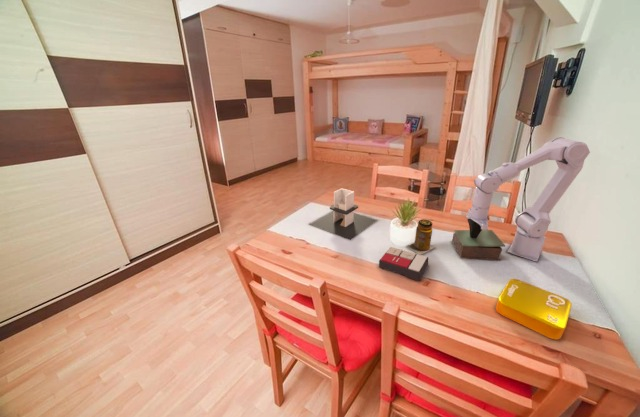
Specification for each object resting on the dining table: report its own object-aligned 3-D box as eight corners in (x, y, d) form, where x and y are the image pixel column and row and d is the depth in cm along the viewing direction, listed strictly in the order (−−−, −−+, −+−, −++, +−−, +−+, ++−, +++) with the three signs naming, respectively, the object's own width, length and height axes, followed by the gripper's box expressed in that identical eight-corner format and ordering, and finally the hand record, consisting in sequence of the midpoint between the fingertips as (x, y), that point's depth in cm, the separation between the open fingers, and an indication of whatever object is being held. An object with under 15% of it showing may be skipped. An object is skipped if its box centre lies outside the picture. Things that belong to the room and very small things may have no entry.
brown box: (486, 244, 110) (489, 233, 108) (498, 260, 100) (502, 248, 97) (451, 242, 112) (453, 231, 110) (460, 258, 102) (462, 246, 100)
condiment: (433, 248, 108) (438, 222, 104) (420, 255, 104) (424, 229, 99) (419, 240, 114) (422, 216, 109) (406, 247, 110) (409, 221, 105)
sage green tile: (491, 231, 107) (492, 230, 107) (505, 246, 97) (505, 245, 97) (454, 231, 110) (454, 230, 110) (462, 246, 100) (463, 245, 99)
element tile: (507, 286, 87) (511, 275, 85) (567, 311, 76) (573, 298, 74) (493, 311, 77) (497, 299, 75) (559, 343, 67) (565, 330, 65)
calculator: (390, 245, 105) (429, 255, 96) (389, 254, 107) (428, 265, 98) (378, 259, 97) (420, 271, 88) (378, 268, 99) (419, 281, 90)
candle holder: (309, 224, 132) (307, 194, 125) (338, 208, 148) (337, 180, 142) (350, 240, 117) (350, 206, 110) (377, 220, 133) (379, 190, 127)
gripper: (463, 198, 105) (456, 227, 111) (476, 213, 92) (468, 246, 98) (482, 198, 104) (474, 228, 109) (498, 214, 91) (489, 247, 96)
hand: (473, 237), depth 103 cm, fingers closed, pressing on sage green tile
